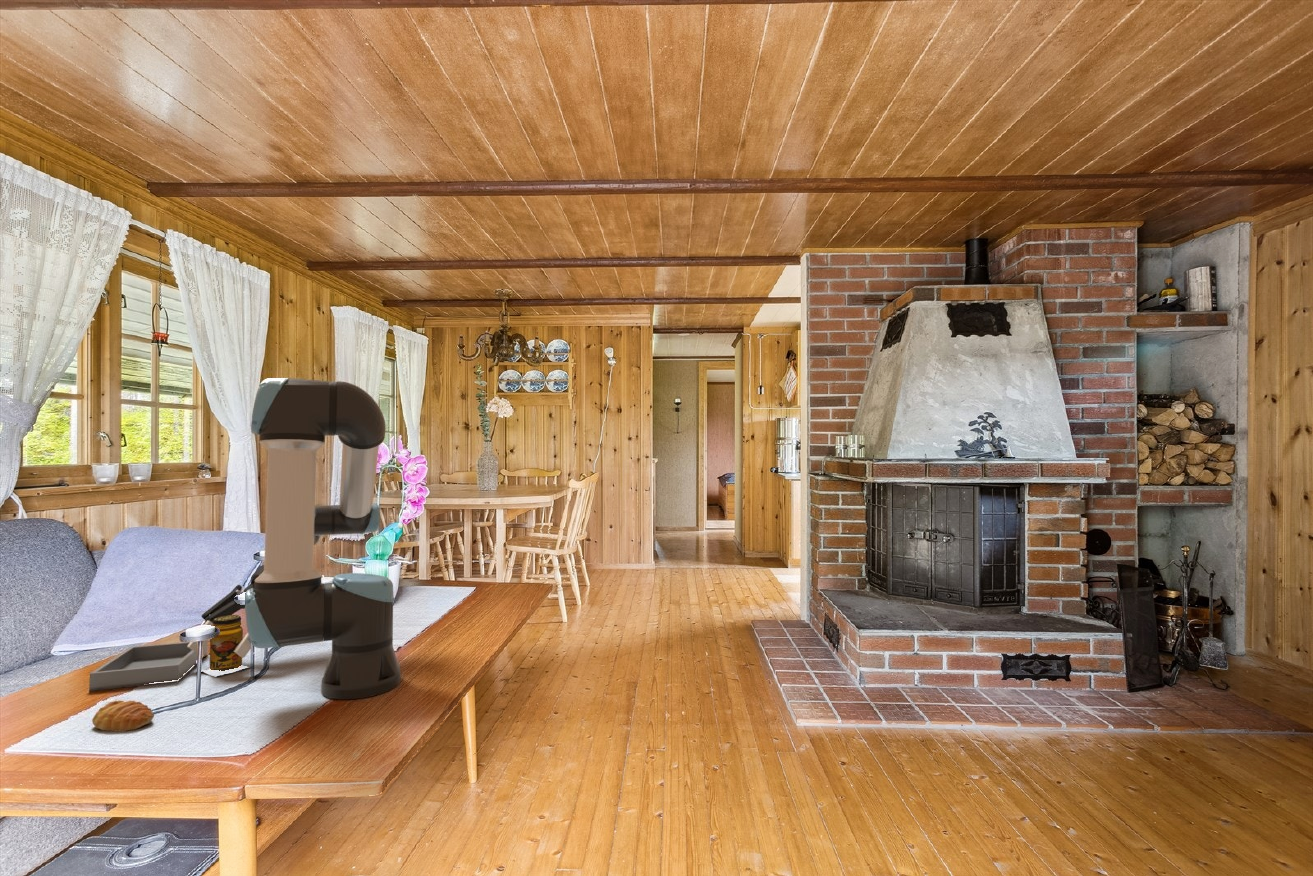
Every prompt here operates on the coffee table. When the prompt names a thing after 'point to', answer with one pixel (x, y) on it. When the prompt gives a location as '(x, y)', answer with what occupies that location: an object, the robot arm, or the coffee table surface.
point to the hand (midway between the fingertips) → (215, 652)
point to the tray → (145, 666)
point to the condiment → (226, 643)
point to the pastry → (122, 716)
